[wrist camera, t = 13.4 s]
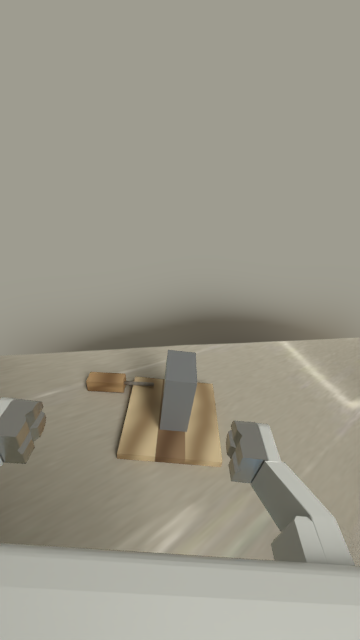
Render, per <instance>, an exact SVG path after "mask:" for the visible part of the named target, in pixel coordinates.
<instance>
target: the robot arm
mask: <svg viewBox="0 0 360 640" xmlns="http://www.w3.org/2000/svg"><path fill="white" fill-rule="evenodd" d="M42 408H43V404H42V402H40V401H31V400H22V399H15V398H5V397H2V398H1V399H0V466H1V465H3V462H4V463H21V464H26V463H27V461H28V459H29V457H30V455H31V453H32V451H33V449H34V441H35V440H36V439H38V438H39V437H40V436H41V434H42V432H43V430H44V426H45V423H46V416H45V413H43V412H42V411H41V410H42ZM231 429H232V430H230V431H229V432H228V434H227V438H226V450H227V455H228V456H229V457H230V459H231V460H230V462H229V471H230V477H231V481H234V482H242V483H251V486H252V487H253V489H254V491H255V492H256V494H257V495H258V497H259V498H260V500H261V501H262V503H263V505H264V506H265V508H266V509H267V511H268V512H269V514H270V515H271V517H272V519H273V520H274V522H275V523H276V525H277V526H278V528H279V529H280V531H281V533H280V534H279V535H278V536H277V537H276V538H275V539H274V540H273V542H272V544H271V546H272V551H273V555H274V560H275V561H274V560H258V559H243V558H227V557H212V556H197V555H181V554H166V553H150V552H135V551H120V550H104V549H89V548H74V547H58V546H43V545H27V544H12V543H0V640H360V566H355V564H354V562H353V559H352V557H351V554H350V552H349V550H348V547H347V545H346V543H345V540H344V538H343V535H342V533H341V531H340V528H339V526H338V524H337V521H336V519H335V517H334V516H333V515H332V514H331V513H330V512H329V511H328V510H327V509H326V507H325V506H324V505H323V504H322V503H321V502H320V501H319V500H318V499H317V497H316V496H315V495H314V494H313V493H312V492H311V491H310V490H309V489H308V488H307V486H306V485H305V484H304V483H303V482H302V481H301V480H300V479H299V478H298V476H297V475H296V474H295V473H294V472H293V471H292V470H291V469H290V468H289V467H288V465H287V464H286V463H285V462H281V459H280V456H279V453H278V450H277V447H276V444H275V441H274V438H273V435H272V432H271V429H270V426H269V425H268V424H262V423H255V422H243V421H233V422H232V424H231Z"/></svg>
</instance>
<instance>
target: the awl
mask: <svg viewBox="0 0 360 640" xmlns="http://www.w3.org/2000/svg"><path fill="white" fill-rule="evenodd" d="M86 383H87V388H88V391H103V392H124V389H125V385H139V386H154V383H152V382H131V381H126V375H125V374H120V373H100V372H90V374H89V376H88V379H87V381H86Z"/></svg>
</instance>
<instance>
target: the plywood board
mask: <svg viewBox="0 0 360 640" xmlns="http://www.w3.org/2000/svg"><path fill="white" fill-rule="evenodd" d="M134 382H152V383H154V386H139V385H133V388H132V392H131V397H130V401H129V405H128V409H127V414H126V418H125V422H124V426H123V431H122V435H121V439H120V443H119V447H118V452H117V459H129V460H142V461H154V462H166V463H178V464H191V465H203V466H215V467H221V465H222V455H221V447H220V439H219V431H218V423H217V415H216V407H215V399H214V391H213V384H207V383H197V387H196V392H195V396H194V401H193V406H192V410H191V415H190V420H189V424H188V429H187V432H182V431H171V430H160V420H161V410H162V399H163V390H164V382H165V379H155V378H145V377H135V380H134Z"/></svg>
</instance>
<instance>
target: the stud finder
mask: <svg viewBox="0 0 360 640" xmlns="http://www.w3.org/2000/svg"><path fill="white" fill-rule="evenodd" d="M196 387H197V370H196V353H193V352H183V351H173V350H168V356H167V362H166V371H165V382H164V390H163V399H162V410H161V420H160V430H171V431H182V432H187V429H188V424H189V420H190V415H191V410H192V406H193V401H194V396H195V392H196Z"/></svg>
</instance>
